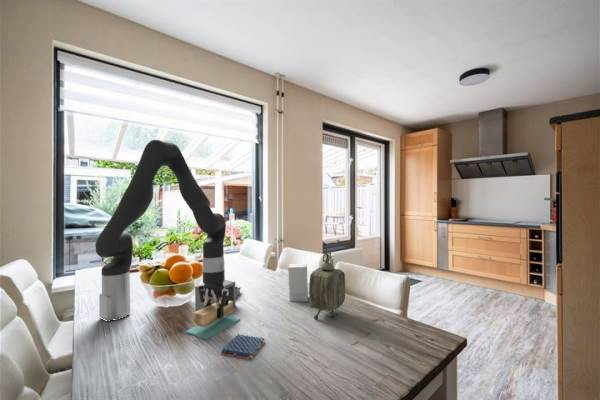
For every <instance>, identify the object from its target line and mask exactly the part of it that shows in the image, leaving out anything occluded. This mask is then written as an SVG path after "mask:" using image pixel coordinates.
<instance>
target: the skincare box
mask: <svg viewBox="0 0 600 400" xmlns="http://www.w3.org/2000/svg"><path fill="white" fill-rule="evenodd" d="M287 269H288V270H287V271H288V272H287V273H288V291H289V292H288V294H289V302H308V300H309V284H308V283H309V281H308V263H289V265H288V268H287Z"/></svg>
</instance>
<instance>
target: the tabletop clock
mask: <svg viewBox="0 0 600 400" xmlns="http://www.w3.org/2000/svg"><path fill="white" fill-rule="evenodd" d="M326 254H329V258H327V257H326V258H325V256H326ZM322 255H323V256H322V261H323V262H324V263H322V265H321V267H318V268H316V269H315V270H313V271H312V272H311V273H310V277H309V281H308V283H309V284H308V300H309V305H310V308H312V309H316V310H318V311H317V313H316V314H314V317H313V319H314V320H319V314H320V313H321V312H322V311H326V312H331V317H333V318H335V317H336V313H335V312H334V311H335V310H338V309H339V308H340V307H341V306H342V305H343V304H344V302H345V299H346V274H345V272H344V271H343V270H341V269H339V268H335V267H334V265H333V263H330V260H331V259H332V253H331V251H330V250H326V251H325V252H324V253H323V254H322Z"/></svg>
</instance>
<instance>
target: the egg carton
mask: <svg viewBox="0 0 600 400" xmlns="http://www.w3.org/2000/svg"><path fill="white" fill-rule="evenodd" d="M235 291H236V297H238V296H239V295H240V294H241V287H240V286H239V287H238V286H236V285H235Z"/></svg>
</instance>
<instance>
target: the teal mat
mask: <svg viewBox="0 0 600 400" xmlns="http://www.w3.org/2000/svg"><path fill="white" fill-rule="evenodd" d="M240 321H241V318H239V317H236V316H235V317H234V316H232V315H229V314H228V315H226V316H225V317H223V318H221V319H219V320H217V321H215V322H213V323H212V324H210V325H208V326H206V327H200V326H197V325H194V327H190V328H189V329H187V330H185V334H188V335H192V336H195V337H196V338H197V337H198V338H200V339H202V340H203V339H204V340H209V339H210V338H212V337H214V336H216V335H217V334H219V333H221V332H222V331H225V330H226V329H228V328H229V327H230V328H231V326H233V325H235V324H236V323H238V322H240Z"/></svg>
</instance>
